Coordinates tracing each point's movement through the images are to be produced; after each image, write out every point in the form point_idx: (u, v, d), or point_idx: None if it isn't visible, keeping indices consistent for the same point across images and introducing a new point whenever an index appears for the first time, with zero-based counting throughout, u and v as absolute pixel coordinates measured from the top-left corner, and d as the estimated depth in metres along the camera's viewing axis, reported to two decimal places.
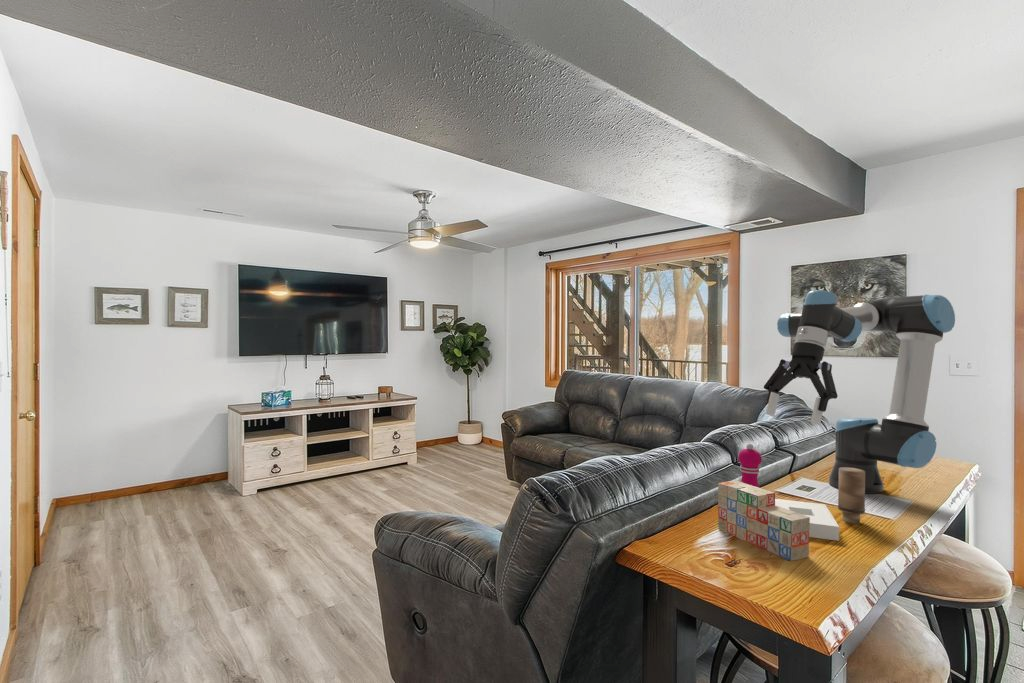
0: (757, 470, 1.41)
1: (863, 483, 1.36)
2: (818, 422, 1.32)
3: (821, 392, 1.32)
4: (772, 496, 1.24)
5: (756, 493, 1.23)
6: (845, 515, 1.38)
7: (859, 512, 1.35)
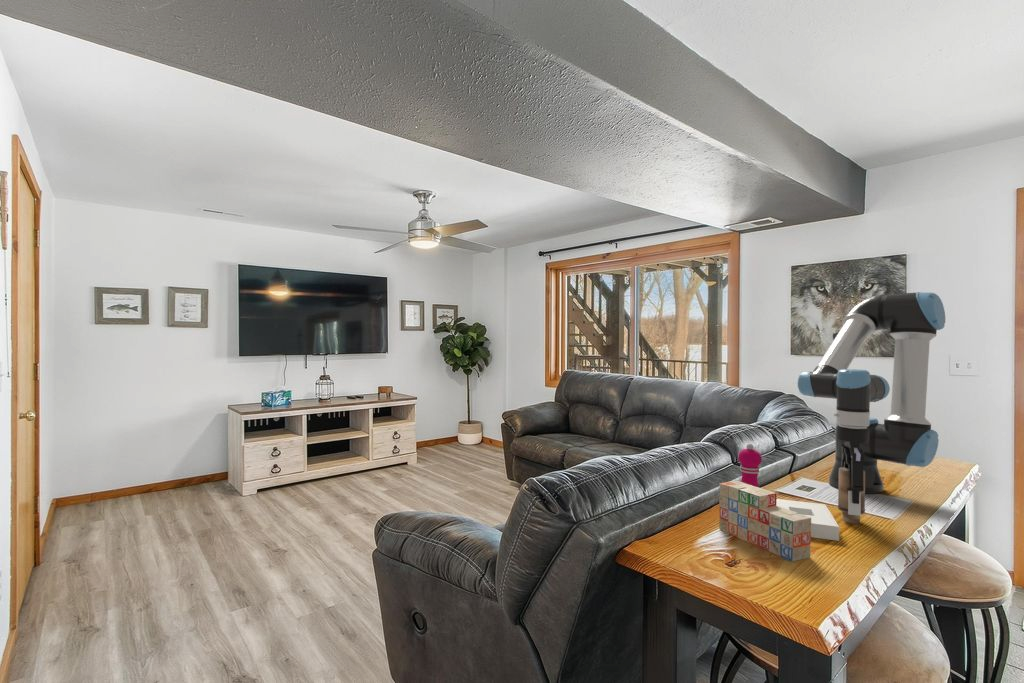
0: (757, 470, 1.41)
1: (863, 483, 1.36)
2: (857, 514, 1.35)
3: (850, 485, 1.35)
4: (773, 496, 1.23)
5: (758, 494, 1.23)
6: (845, 515, 1.38)
7: None
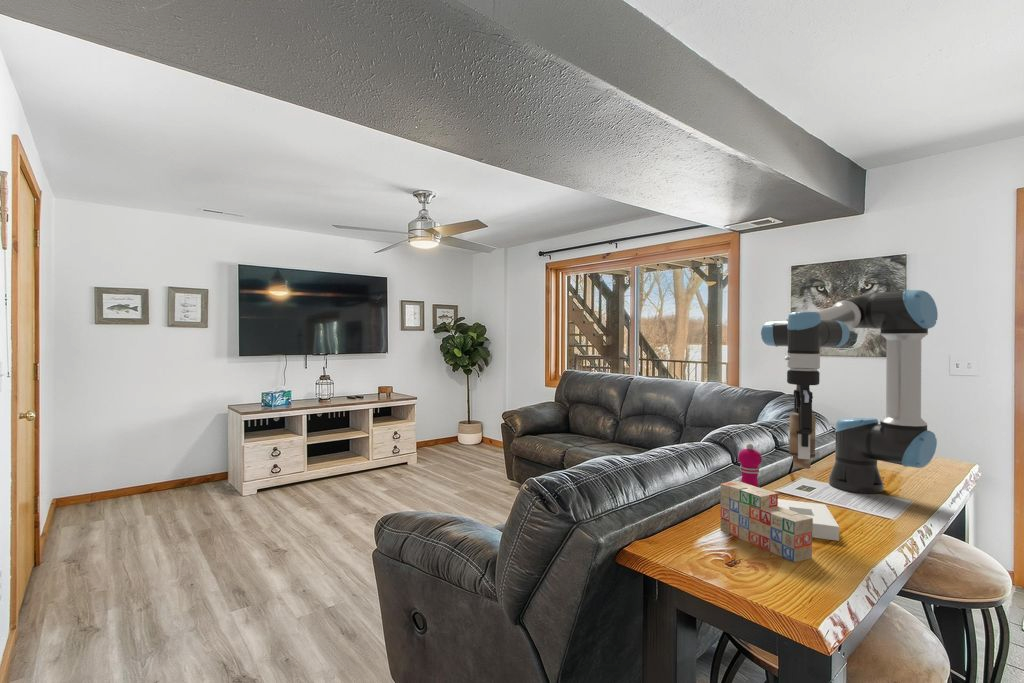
0: (757, 470, 1.41)
1: (813, 426, 1.33)
2: (807, 457, 1.32)
3: (799, 428, 1.32)
4: (775, 497, 1.23)
5: (759, 494, 1.23)
6: (796, 460, 1.35)
7: None
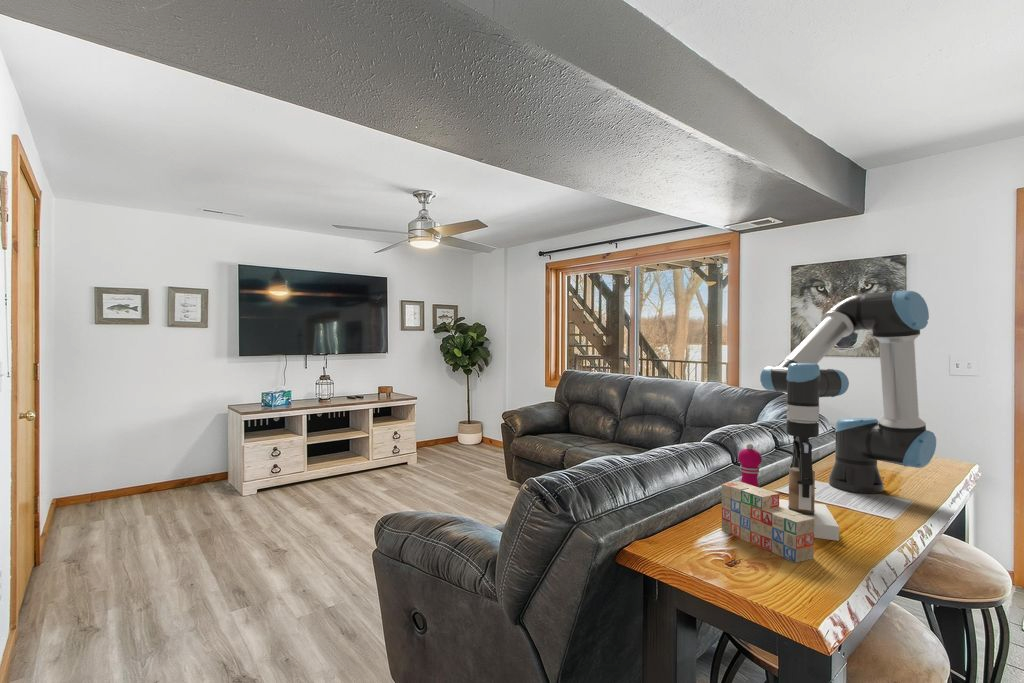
0: (757, 470, 1.41)
1: None
2: (808, 508, 1.30)
3: (800, 478, 1.30)
4: (776, 497, 1.23)
5: (760, 494, 1.22)
6: None
7: (808, 513, 1.33)
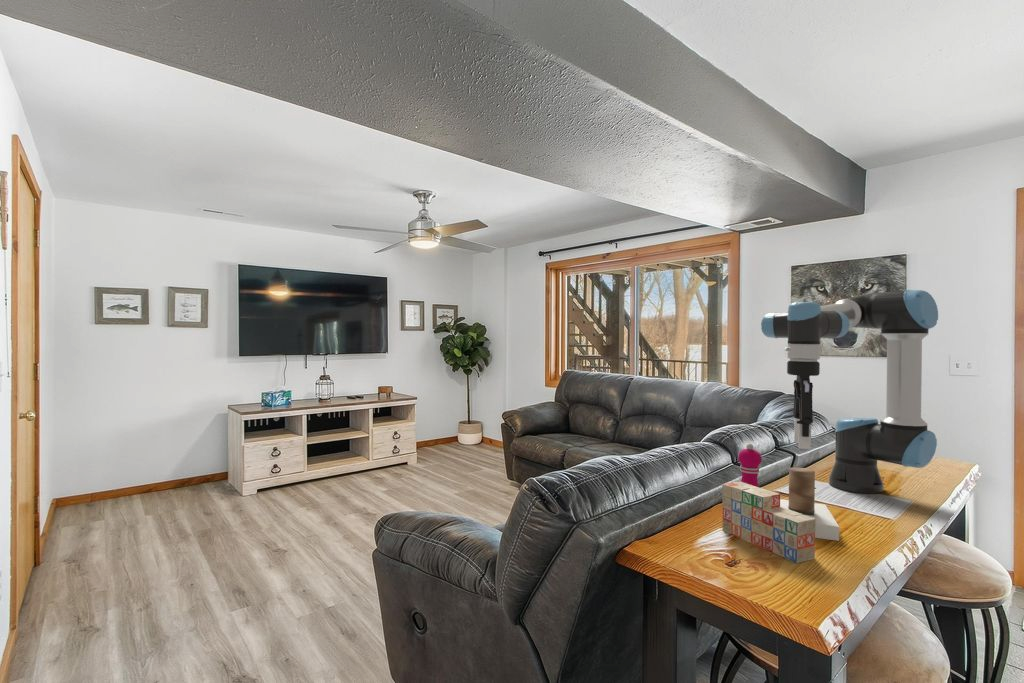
0: (757, 470, 1.41)
1: (812, 483, 1.33)
2: (807, 448, 1.31)
3: (800, 418, 1.31)
4: (777, 497, 1.23)
5: (761, 495, 1.22)
6: None
7: (808, 513, 1.33)
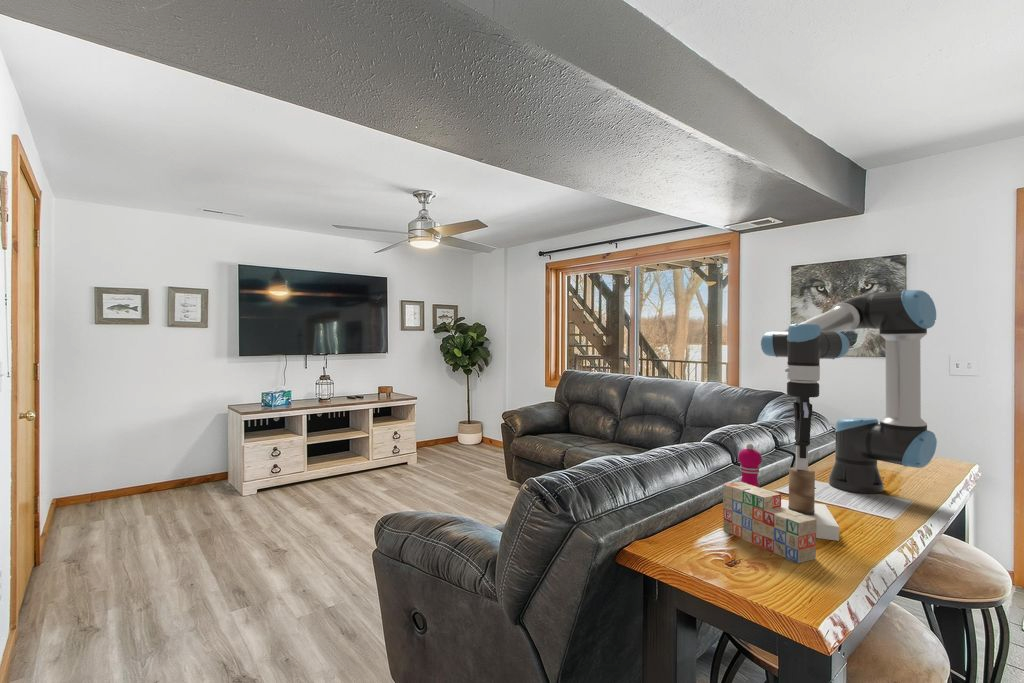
0: (757, 470, 1.41)
1: (812, 483, 1.33)
2: (805, 469, 1.35)
3: (797, 440, 1.35)
4: (778, 498, 1.22)
5: (762, 495, 1.22)
6: None
7: (808, 513, 1.33)
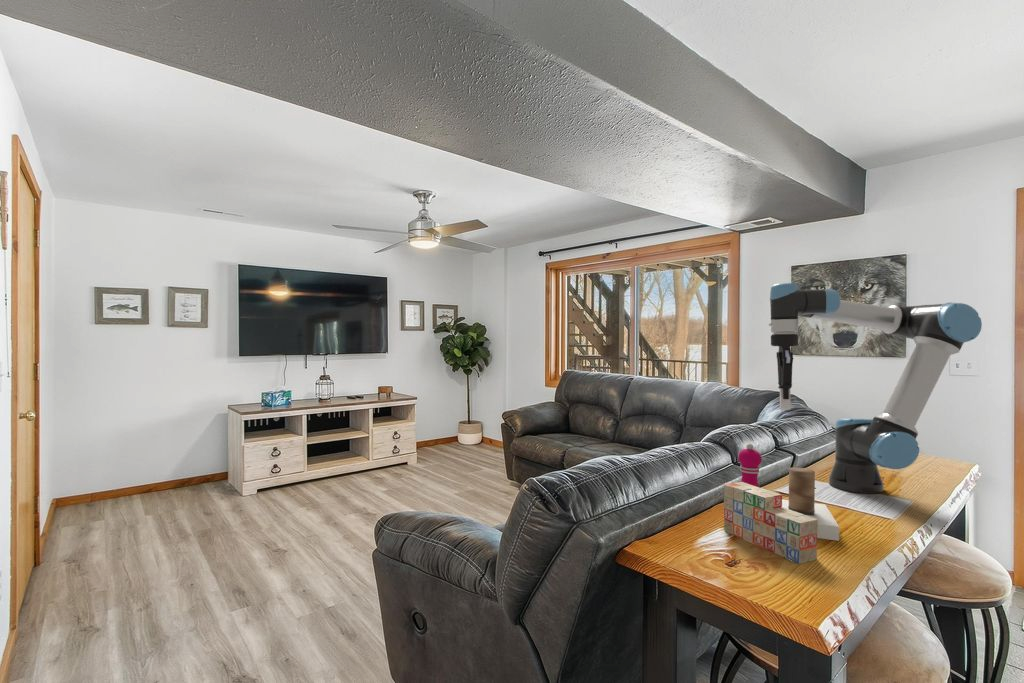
0: (757, 470, 1.41)
1: (812, 483, 1.33)
2: (788, 408, 1.57)
3: (781, 384, 1.56)
4: (779, 498, 1.22)
5: (763, 495, 1.22)
6: None
7: (808, 513, 1.33)
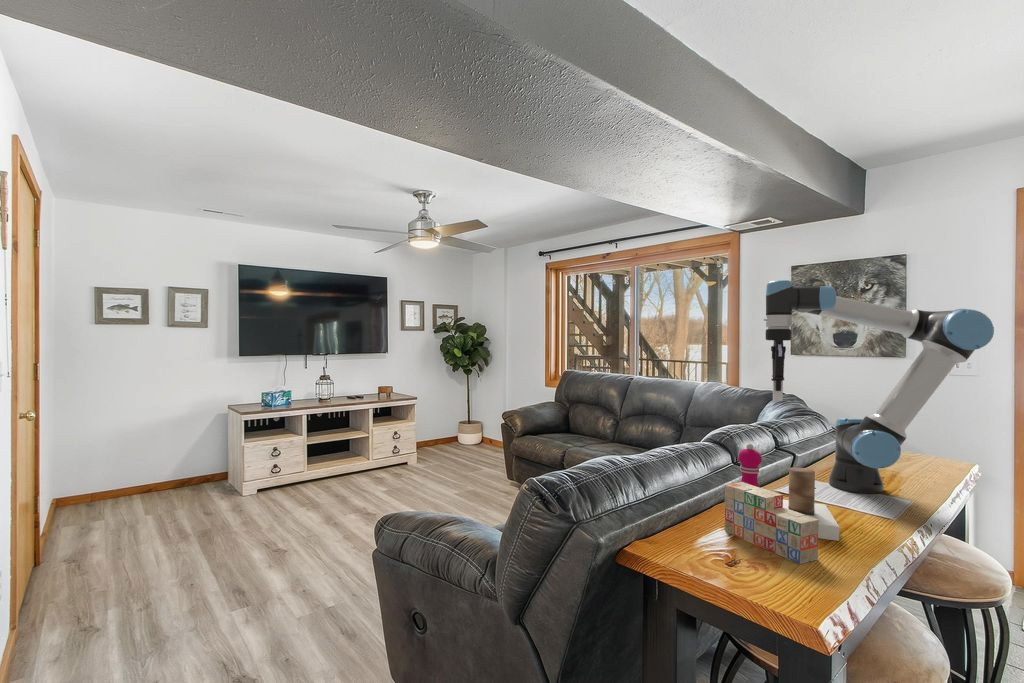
0: (757, 470, 1.41)
1: (812, 483, 1.33)
2: (780, 400, 1.64)
3: (774, 376, 1.64)
4: (780, 498, 1.22)
5: (764, 495, 1.22)
6: None
7: (808, 513, 1.33)
